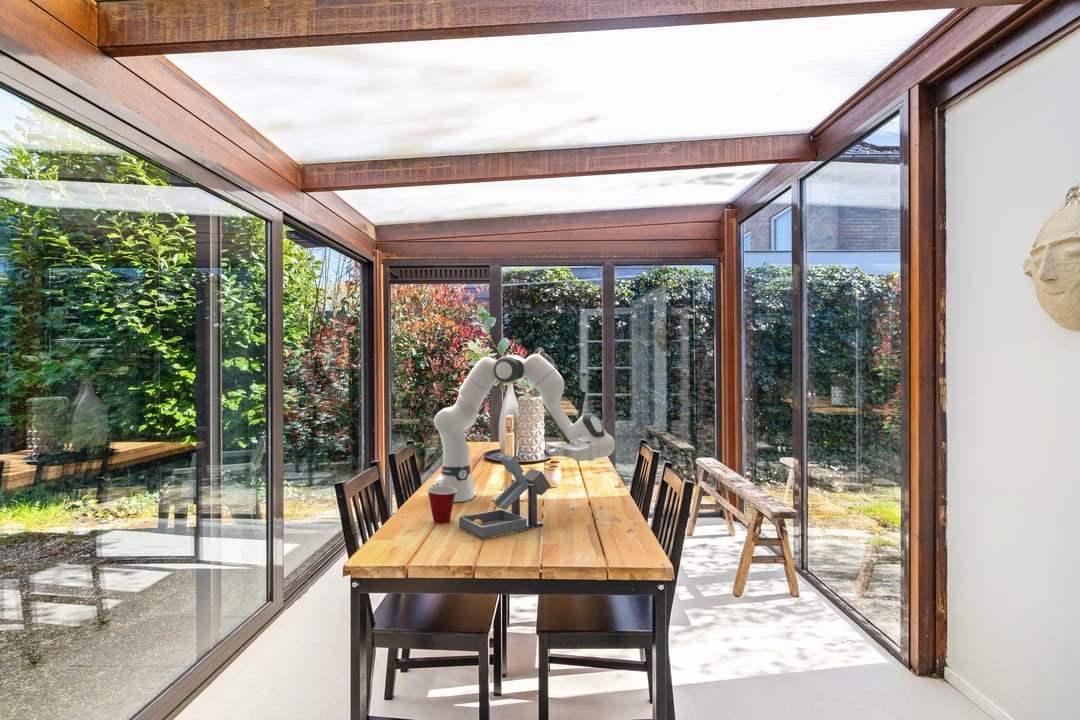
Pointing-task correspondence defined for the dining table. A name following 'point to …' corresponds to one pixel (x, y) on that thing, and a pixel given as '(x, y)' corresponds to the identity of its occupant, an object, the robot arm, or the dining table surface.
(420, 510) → the dining table surface
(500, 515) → the tray
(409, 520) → the dining table surface
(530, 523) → the lever stand
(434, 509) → the plastic cup
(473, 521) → the ball
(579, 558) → the dining table surface
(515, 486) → the lever
